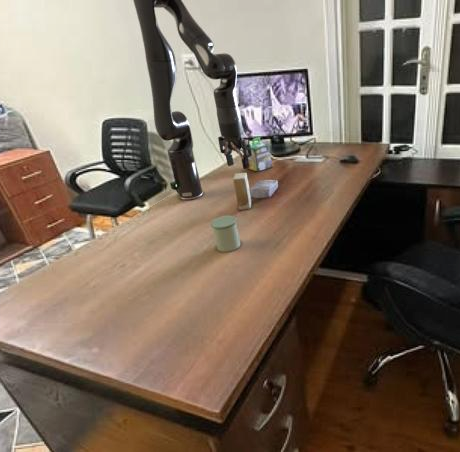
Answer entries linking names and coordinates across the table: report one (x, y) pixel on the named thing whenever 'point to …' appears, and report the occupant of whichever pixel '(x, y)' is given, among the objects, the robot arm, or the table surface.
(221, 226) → the canister
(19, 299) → the table surface
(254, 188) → the stone block
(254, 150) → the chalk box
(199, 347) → the table surface
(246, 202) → the cosmetic box
